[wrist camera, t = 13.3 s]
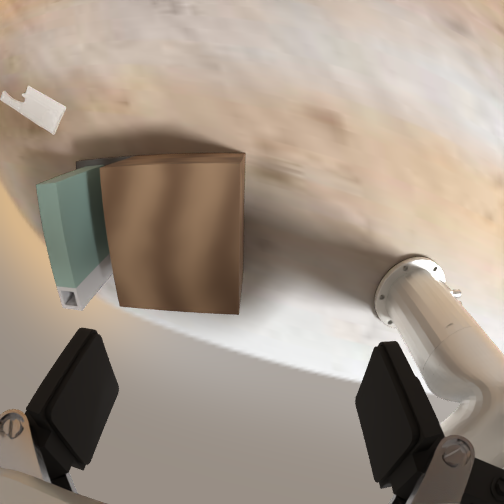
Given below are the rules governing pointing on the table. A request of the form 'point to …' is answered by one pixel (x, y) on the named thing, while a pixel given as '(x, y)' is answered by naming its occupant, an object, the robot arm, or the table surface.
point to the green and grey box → (75, 234)
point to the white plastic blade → (37, 108)
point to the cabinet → (175, 229)
